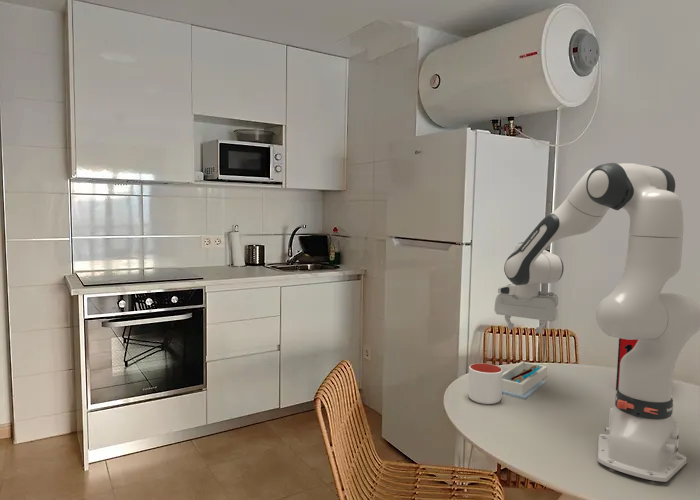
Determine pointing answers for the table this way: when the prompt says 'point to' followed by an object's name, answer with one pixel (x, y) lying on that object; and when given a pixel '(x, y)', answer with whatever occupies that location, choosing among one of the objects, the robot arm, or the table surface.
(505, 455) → the table surface
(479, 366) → the cup
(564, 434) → the table surface
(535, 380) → the white blue rectangular tray
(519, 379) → the gear mechanism
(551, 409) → the table surface
